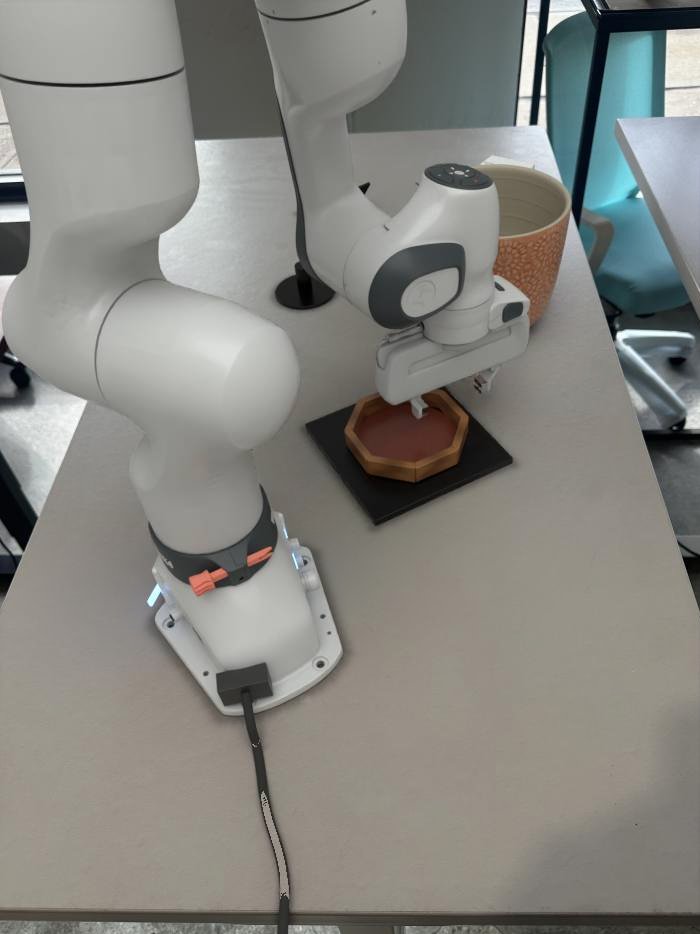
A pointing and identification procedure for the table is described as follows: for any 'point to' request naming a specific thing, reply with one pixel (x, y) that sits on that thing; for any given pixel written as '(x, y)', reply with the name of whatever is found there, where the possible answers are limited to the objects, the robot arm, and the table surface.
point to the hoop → (404, 468)
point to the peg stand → (302, 291)
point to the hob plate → (405, 455)
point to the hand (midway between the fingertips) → (451, 402)
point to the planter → (530, 230)
